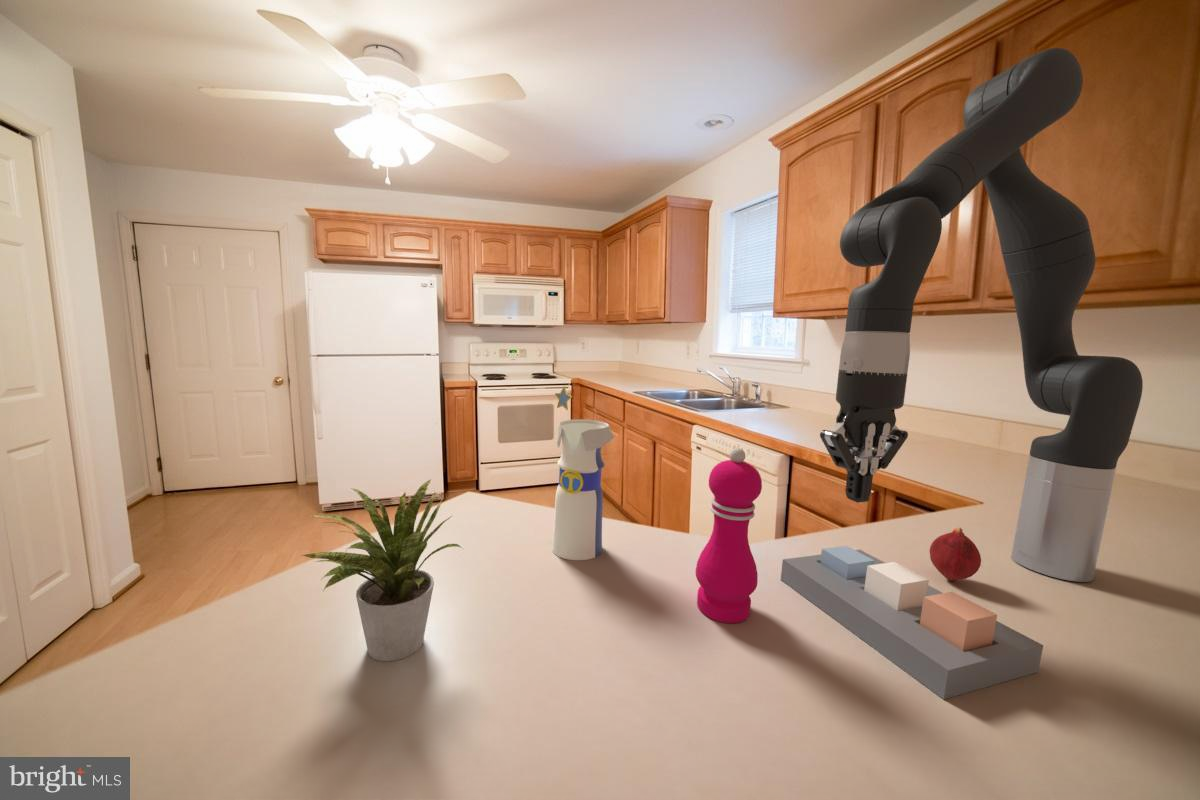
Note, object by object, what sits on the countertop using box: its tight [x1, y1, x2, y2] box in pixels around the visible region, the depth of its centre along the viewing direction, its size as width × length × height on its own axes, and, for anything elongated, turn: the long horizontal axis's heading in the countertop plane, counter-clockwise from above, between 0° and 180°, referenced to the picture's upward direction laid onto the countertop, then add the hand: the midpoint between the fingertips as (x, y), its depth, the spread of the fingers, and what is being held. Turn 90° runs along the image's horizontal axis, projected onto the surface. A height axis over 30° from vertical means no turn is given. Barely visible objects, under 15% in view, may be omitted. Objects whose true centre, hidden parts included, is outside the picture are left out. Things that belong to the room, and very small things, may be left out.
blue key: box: [820, 545, 874, 580], centre depth 61 cm, size 4×4×4 cm
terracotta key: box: [920, 591, 998, 652], centre depth 48 cm, size 4×4×4 cm
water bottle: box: [551, 385, 615, 561], centre depth 67 cm, size 8×9×25 cm
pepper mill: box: [695, 447, 763, 624], centre depth 54 cm, size 7×7×20 cm
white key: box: [864, 561, 929, 611], centre depth 55 cm, size 4×4×4 cm
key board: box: [780, 549, 1044, 700], centre depth 55 cm, size 14×22×3 cm, turn 19°
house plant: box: [301, 479, 464, 662], centre depth 46 cm, size 14×14×16 cm
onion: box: [929, 526, 982, 582], centre depth 65 cm, size 6×6×8 cm
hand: (856, 500), depth 60 cm, fingers closed
